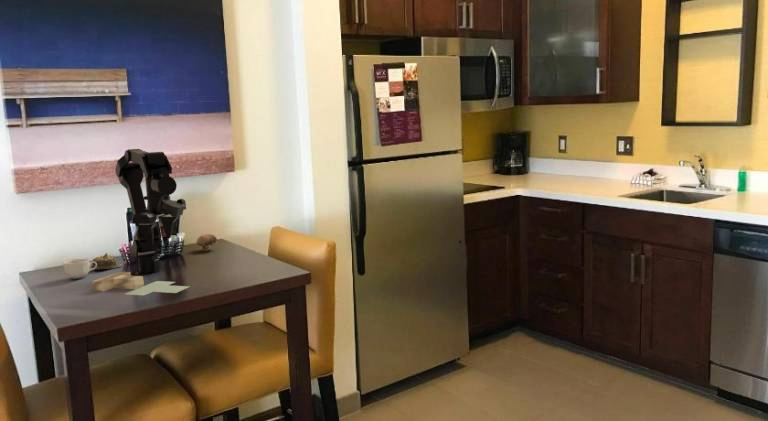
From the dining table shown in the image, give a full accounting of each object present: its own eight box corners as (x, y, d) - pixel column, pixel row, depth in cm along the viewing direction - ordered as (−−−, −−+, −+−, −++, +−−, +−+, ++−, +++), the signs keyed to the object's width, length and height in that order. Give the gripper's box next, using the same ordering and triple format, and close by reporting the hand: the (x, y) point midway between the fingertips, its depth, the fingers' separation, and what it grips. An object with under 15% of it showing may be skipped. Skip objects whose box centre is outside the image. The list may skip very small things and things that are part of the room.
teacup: (65, 281, 200) (63, 264, 199) (64, 276, 207) (62, 260, 206) (98, 276, 205) (97, 260, 204) (97, 271, 211) (95, 256, 211)
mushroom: (193, 252, 237) (192, 236, 236) (202, 248, 245) (201, 232, 244) (213, 252, 236) (211, 236, 235) (221, 248, 243) (220, 232, 242)
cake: (93, 272, 211) (91, 257, 210) (89, 267, 219) (87, 252, 219) (124, 268, 216) (122, 253, 216) (119, 263, 225) (117, 248, 224)
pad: (123, 294, 181) (123, 294, 181) (156, 281, 195) (156, 280, 195) (167, 297, 177) (167, 296, 177) (197, 283, 191) (197, 283, 191)
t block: (93, 291, 186) (92, 281, 186) (120, 280, 198) (120, 271, 197) (126, 292, 183) (124, 283, 182) (152, 282, 194) (151, 273, 193)
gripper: (161, 196, 182) (165, 248, 184) (195, 188, 200) (199, 236, 202) (128, 196, 185) (133, 247, 187) (165, 188, 202) (169, 235, 205)
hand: (160, 241), depth 195 cm, fingers open, 9 cm apart
